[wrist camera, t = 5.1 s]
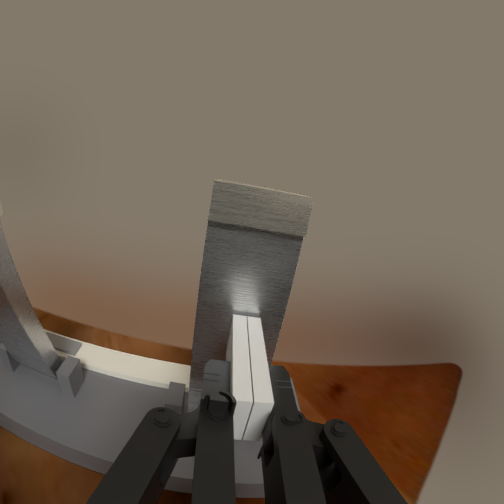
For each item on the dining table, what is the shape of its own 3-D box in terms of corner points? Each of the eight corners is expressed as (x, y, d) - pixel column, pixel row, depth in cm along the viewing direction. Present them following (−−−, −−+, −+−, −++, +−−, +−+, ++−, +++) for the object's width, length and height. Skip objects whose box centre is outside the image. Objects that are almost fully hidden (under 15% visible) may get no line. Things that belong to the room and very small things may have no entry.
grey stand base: (-26, 408, 12) (-49, 364, 10) (26, 344, 23) (17, 303, 22) (305, 495, 15) (331, 464, 14) (284, 398, 27) (298, 359, 25)
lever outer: (186, 421, 18) (214, 180, 13) (189, 400, 20) (217, 179, 16) (253, 428, 18) (313, 198, 14) (251, 406, 21) (302, 194, 16)
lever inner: (17, 368, 16) (-72, 198, 6) (26, 348, 18) (-47, 177, 8) (59, 387, 17) (-35, 203, 7) (68, 364, 19) (-5, 178, 9)
